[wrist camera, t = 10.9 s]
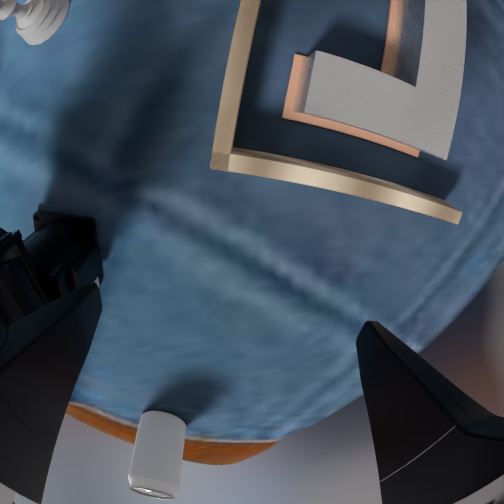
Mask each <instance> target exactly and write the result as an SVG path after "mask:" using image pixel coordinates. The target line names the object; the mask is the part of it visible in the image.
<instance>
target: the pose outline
mask: <svg viewBox="0 0 504 504" xmlns="http://www.w3.org/2000/svg"><path fill="white" fill-rule="evenodd" d="M397 2H398V0H390V8H389V17H388V25H387V33H386V40H385V47H384V53H383V59H382V65H381V71H380V72H383V73H385V74H387V75H388V71H389V65H390V59H391V52H392V45H393V38H394V30H395V22H396V13H397ZM306 58H307V57H306V56H302V55H298V54H294V59H293V64H292V69H291V74H290V79H289V84H288V89H287V94H286V99H285V104H284V109H283V114H282V118H286V119H291V120H295V121H300V122H304V123H308V124H313V125H317V126H321V127H325V128H328V129H332V130H336V131H340V132H343V133H347V134H350V135H354V136H357V137H360V138H363V139H367V140H370V141H373V142H376V143H379V144H382V145H385V146H388V147H391V148H394V149H396V150H399V151H402V152H405V153H407V154H410V155H412V156H415V157H418V156H419V152H420V151H419V150H416V149H413V148H411V147H408V146H406V145H403V144H401V143H398V142H395V141H392V140H390V139H387V138H384V137H381V136H378V135H375V134H372V133H369V132H366V131H363V130H360V129H356V128H353V127H350V126H346V125H343V124H340V123H336V122H332V121H329V120H325V119H321V118H317V117H313V116H309V115H305V114H300V113H296V112H292V107H293V102H294V97H295V92H296V87H297V82H298V77H299V72H300V67H301V62H302V61H303V60H305V59H306Z"/></svg>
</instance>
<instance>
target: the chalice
mask: <svg viewBox="0 0 504 504" xmlns="http://www.w3.org/2000/svg"><path fill="white" fill-rule="evenodd" d="M68 9H69V0H28V1H27V2H26V3H25V4H24V5H20V4H18V3H17V0H6V1H2V0H0V19H1V20H3V19H5V18H7V17H8V16H15V17H17V18H16V30H17V32H18V33H19V34H20V35H21V37H22V38H23V39H25V41H26V42H27V43H28V44H31V45H37V44H41V43H42V42H44V41H46V40H48V39H49V38H50V37H51V36H52V35H53V34H54V33H55V32H56V31H57V30H58V28H59V27H60V26H61V25H62V23H63V21H64V19H65V17H66V15H67V12H68Z"/></svg>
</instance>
